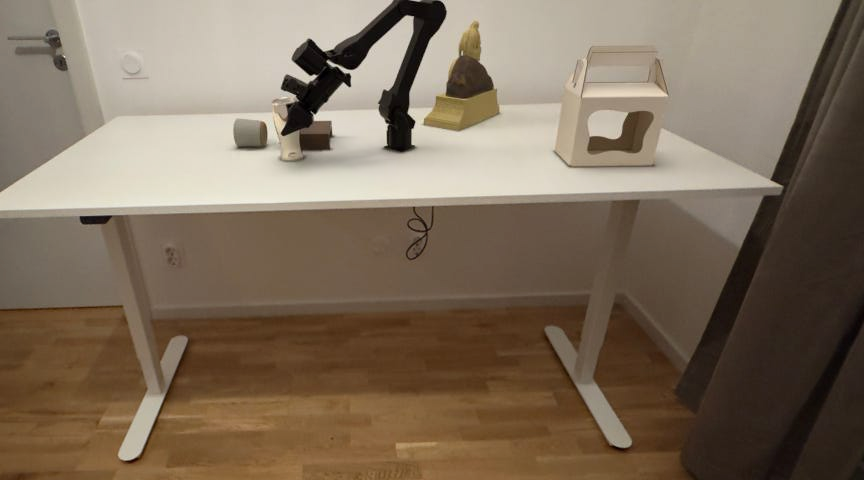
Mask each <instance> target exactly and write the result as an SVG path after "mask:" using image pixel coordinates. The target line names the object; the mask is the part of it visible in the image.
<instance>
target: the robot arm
mask: <svg viewBox="0 0 864 480" xmlns="http://www.w3.org/2000/svg"><path fill="white" fill-rule="evenodd" d="M447 13H448V10H447V8H446V5H445V3H444V2H443V1H441V0H419V1H418V0H392V2H391V3H390V4H389V5H387V7H385V9H383V10H382V11H380V13H379V14H378V15H377V16H375V18H373V19H372V20H371V21H370V22H369V23H368V24H367V25H365V27H364V28H362V29H361V30H360V31H359V32H357V33H356V34H354V35H352V36H349V37H347V38H345V39H344V40H342V41H341V42H339V43H337V44H336V45H335V46H334V47H333V48H332V49H329V50H328V49H327V50H323V49H321V47H319V46H318V45H317V43H316V42H315V41H314V40H313V39H312V38H309V37H308V38H307V39H306V40H305V41H304V42H303V43H301V45H299V46H298V47H297V48H296V49H295V50H294V52H293V53H292V56H291V61H292V62H293V63H294V64H295V65H296V66H298V67H299V68H300V69H301V70H302V71H303V72H305V73H306V74H307V75H308V76H309V77H312V76H314V75H315V76H316V77H314V79H312V80H309V82H308V83H307V82H305V81H303V80H302V79H299V78H297V77H296V76H295V77H294V76H292V75H291V74H285V75H284V77H283V80H282V83H281V86H280V90H281V91H283V92H287V93H289V94H292V95H294V96H295V98H296V99H297V100H298V102H294V103H293V104H292V106H291V107H290V108H289V110H288V112H289V117H290V118H289V120H288V121H287V123H286V125H285V126H284V128H283V130H282V132H281V135H282V136H286V135H288V134H291V133H293V132H296V131H298V130H301V129H303V128H309V127H310V126H311V125H312V123H313V121H315V116H316V115H317V114H318V113H319V110H320V109H321V108H322V107H323V106H324V105H325V104H327V103H328V102H329V100H330V98H331V97H332V96H333V95H334V93H336V92H337V90H338V89H339V88H340V87H341V86H342V85H343V84H345V85H346V86H347V87H348V88H352V75H351V73H350V72H344V71H343V70H342V69H341V68H343V69H345V70H348V71H354V70H356V69H358V68H359V67H360V66H361V65H362V63H363V62H364V61H365V59H366V58H367V56H368V54H369V53H370V50H371V49H372V47H373V46H374V45H375V44H377V43H378V42H379V41H380V40H381V39H382V38H383V37H384V36H385V35H387V34H388V33H389V32H390V31H391V30H392V29H393V28H394V27H395V26H396V25H397V24H398V23H400V22H401V21H402V20H403V19H404V18H405V17H407V16H408V17H412V18H413V19H412V26H413V27H412V35H411V38H410V40H409V43H408V45H407V48H406V50H405V53H404V56H403V58H402V61H401V64H400V67H399V69H398V72H397V74H396V77H395V80H394V82H393V85H392V86H391V87H390V88H389V90H387V89H383V90H382V91H381V96H380V99H379V100H378V101H377V104H378V112H379V115H380V116H381V118H383V120H384V122H385V124H386V128H387V129H386V145H384V147H383V149H385V150H386V149H387V150H389V151H394V152H397V153H403V152H407V151H408V150H409V151H410V150H411V149H415V148H416V145H415V144H412V143H413V142H412V138H413V137H412V136H413V135H412V130H414V129H415V125H416V123H417V122H416V120H415V119H414V117H412V116H411V115H410V113H409V109H410V105H411V101H410V99H411V98H410V97H411V96H410V94H411V91H412V90H411V89H412V87H413V84H414V81H415V80H416V77H417V74H418V71H419V69H420V67H421V64H422V61H423V60H424V56H425V54H426V51H427V48H428V46H429V43H430V41H431V40H432V38H433V37H434V36H435V35H436V34H437V33H438V32H439V30H440V29H441V27H442V26H443V24H444V22H445V20H446V19H447ZM329 62H330V63H332V64H333V65H335V66H333V65H332V64H330V63H329ZM336 65H337V66H336Z"/></svg>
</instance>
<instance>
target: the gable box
mask: <svg viewBox="0 0 864 480" xmlns="http://www.w3.org/2000/svg"><path fill="white" fill-rule="evenodd" d="M658 54H659V51H657V48H656V46H655V45H593V46H591V47H589V49H588V53H587V56H586V58H583V59H577V61H576V65H575V69H574V71H573V73H572V74H571V76H570V78H569V79H568V80H567V82H566V83H565V85H564V87H563V93H562V99H561V106H560V113H559V119H558V126H557V133H556V138H555V146H554V152H555V153H556V154H557V155H558V156H559V157H560V158H561V159H562V160H563V161H564V162H565V163H566V164H567V165H568V166H569V167H571V168H572V167H573V168H575V167H577V168H578V167H634V166H635V167H637V166H638V167H641V166H643V167H645V166H652V165H653V163H654V160H655V156H656V151H657V147H658V143H659V139H660V134H661V131H662V127H663V123H664V118H665V116H666V115H665V114H666V111H667V107H668V102H669V98H670V95H669V91H668V86H667V84H666V79H665V76H664V72H663V68H664V61H665V59H658V58H657V56H658ZM591 67H592V68H595V67H645V68H646V67H649V69H648V73H647V77H646V81H592V82H591V81H590V82H589V81H588V82H586V81H587V75H588V71H589V69H590V68H591ZM599 111H613V112H614V111H615V112H619V113H627V115H626V116H625V119H624V120H623V123H622V126H621V127H622V128H621V134H620V136H619V137H617V138H609V137H606V136H601V135H591V136H590V130H589V119H590V116H591V115H593V114H594V113H595V112H599Z"/></svg>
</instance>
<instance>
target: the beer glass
mask: <svg viewBox="0 0 864 480" xmlns="http://www.w3.org/2000/svg"><path fill="white" fill-rule="evenodd" d="M294 102H298V99H297V98H296V97H289V96H288V97H278V98H275V99H274V98H273V100H271V111H272V119H273V120H272V121H273V124H274V128H275V131H276V135H277V138H278V140H279V144H280V159H281V160H282V161H285V162H295V161H299V160H301V159H303V158H304V152H303V150H302V149H301V144H300V134H301V130H298V131H296V132H293V133H291V134H288V135H286V136H282V135H281V132H282V130H283V128H284V126H285V125H286V123H287V121H288V120H289V118H290V117H289V112H288V110H289V108H290V107H291V106H292V104H293V103H294Z"/></svg>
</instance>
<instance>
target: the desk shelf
mask: <svg viewBox="0 0 864 480" xmlns="http://www.w3.org/2000/svg"><path fill="white" fill-rule="evenodd" d="M332 123H333V122H332V120H314V121H313V123H312V125H311V126H310V127H309V128H303V129H301V134H300V144H301V149H302V151H330V150H331V142H330V138H333V124H332Z"/></svg>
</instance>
